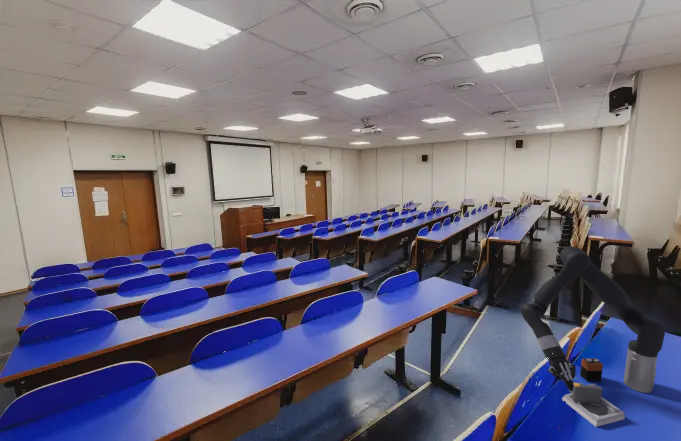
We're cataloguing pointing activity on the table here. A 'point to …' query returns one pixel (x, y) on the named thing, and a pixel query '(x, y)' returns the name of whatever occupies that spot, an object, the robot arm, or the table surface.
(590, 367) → the battery
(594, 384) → the screwdriver
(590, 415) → the panel
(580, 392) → the dial
